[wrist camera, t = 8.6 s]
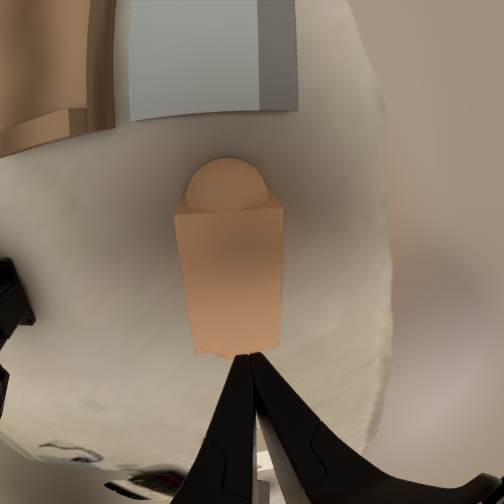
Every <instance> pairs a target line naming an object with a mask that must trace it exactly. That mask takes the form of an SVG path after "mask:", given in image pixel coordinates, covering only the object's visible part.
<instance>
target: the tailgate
mask: <svg viewBox="0 0 504 504" xmlns="http://www.w3.org/2000/svg"><path fill="white" fill-rule="evenodd" d="M128 87H129V112H130V121H139V120H146V119H153V118H160V117H168V116H177V115H187V114H198V113H212V112H231V111H298V78H297V42H296V19H295V1H294V0H131V4H130V19H129V42H128Z"/></svg>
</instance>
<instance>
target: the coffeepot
mask: <svg viewBox="0 0 504 504" xmlns="http://www.w3.org/2000/svg"><path fill="white" fill-rule="evenodd" d="M257 489H258V504H269V498H270V484H269V483H267V482H265V481H257Z"/></svg>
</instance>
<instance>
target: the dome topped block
mask: <svg viewBox="0 0 504 504" xmlns="http://www.w3.org/2000/svg"><path fill="white" fill-rule="evenodd" d="M174 224H175V232H176V239H177V247H178V254H179V260H180V267H181V274H182V280H183V286H184V292H185V298H186V304H187V309H188V315H189V320H190V325H191V331H192V336H193V341H194V346H195V350H196V354H208V353H215V354H216V355H218V356H220V357H222V358H224V359H228V360H234V357H235V356H236V355H239V354H248V356H249V354H250V353H255V352H257V351H258V350H259V349H266V348H275V347H279V332H280V313H281V290H282V264H283V231H284V208H283V206H282V205H281V204H280V202H279V201H278V200H277V198H276V197H275V196H274V194H273V193H272V192H271V190H270V189H269V188H268V187H266V184H265V182H264V180H263V178H262V176H261V175H260V173H259V172H258V171H257V170H256V169H255V168H254V167H252V166H251V165H250V164H248V163H246V162H244V161H242V160H239V159H234V158H220V159H216V160H213V161H210V162H208V163H207V164H205V165H203V166H202V167H201V168H200V169H199V170H198V171H197V172H196V173H195V174H194V175H193V177H192V178H191V180H190V182H189V185H188V187H187V191H186V192H183V193H182V195H181V198H180V200H179V203H178V205H177V208H176V211H175V213H174Z"/></svg>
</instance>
